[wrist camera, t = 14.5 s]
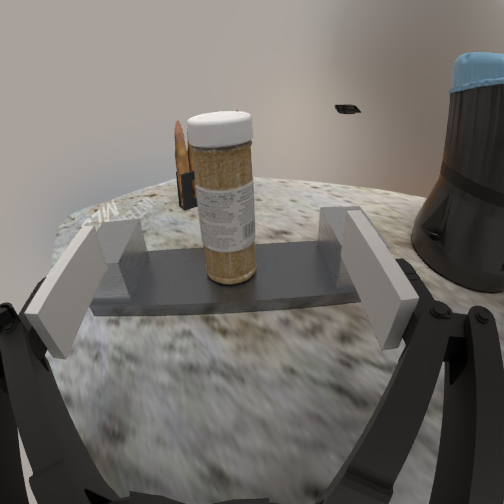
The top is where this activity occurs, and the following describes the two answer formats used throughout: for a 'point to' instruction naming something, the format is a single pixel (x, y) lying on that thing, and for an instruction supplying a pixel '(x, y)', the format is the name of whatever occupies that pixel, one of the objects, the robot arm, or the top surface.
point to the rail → (217, 294)
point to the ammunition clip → (184, 171)
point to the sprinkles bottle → (225, 193)
